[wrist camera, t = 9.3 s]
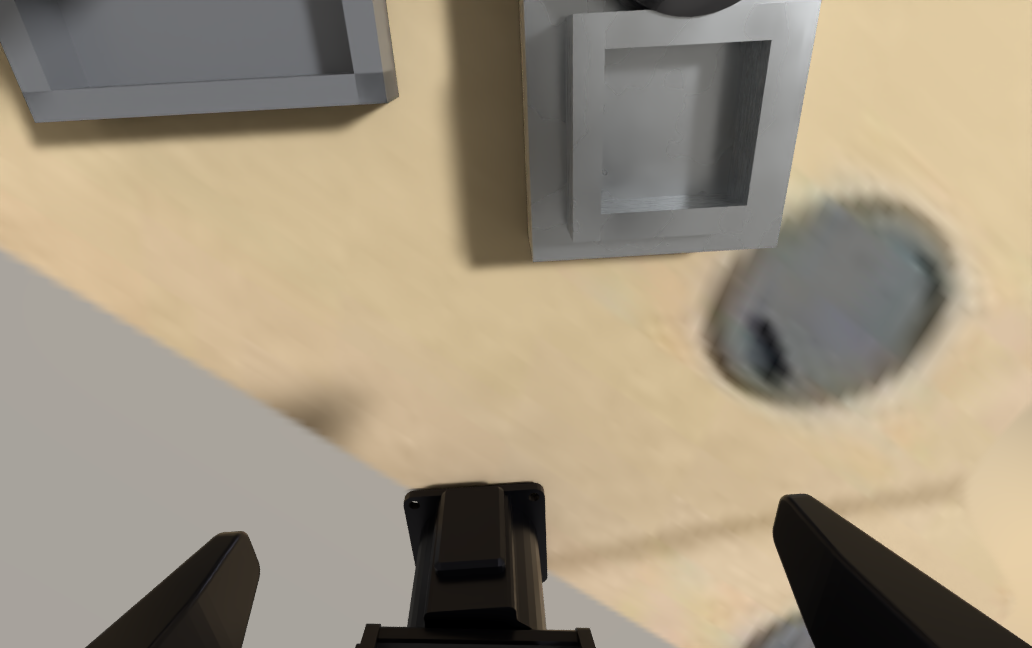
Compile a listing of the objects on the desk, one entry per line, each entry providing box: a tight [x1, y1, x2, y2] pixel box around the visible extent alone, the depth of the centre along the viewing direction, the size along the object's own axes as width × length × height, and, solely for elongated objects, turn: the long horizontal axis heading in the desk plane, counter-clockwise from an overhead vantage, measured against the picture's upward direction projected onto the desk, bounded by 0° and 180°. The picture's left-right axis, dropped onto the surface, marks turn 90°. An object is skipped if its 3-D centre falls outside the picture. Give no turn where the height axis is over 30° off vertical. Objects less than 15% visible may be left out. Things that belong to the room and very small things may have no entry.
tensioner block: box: [519, 0, 821, 262], centre depth 15 cm, size 12×8×5 cm, turn 3°
